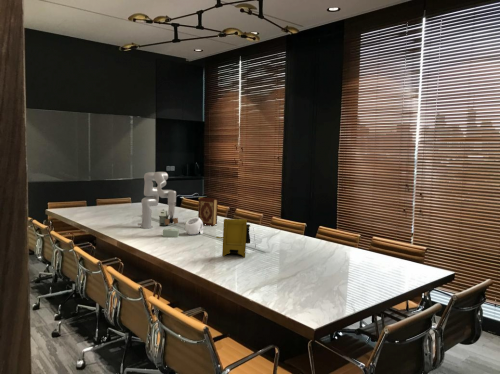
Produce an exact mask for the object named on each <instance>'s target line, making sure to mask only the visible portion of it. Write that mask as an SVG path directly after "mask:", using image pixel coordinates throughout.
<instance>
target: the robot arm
mask: <svg viewBox="0 0 500 374" xmlns="http://www.w3.org/2000/svg"><path fill="white" fill-rule="evenodd" d="M143 176H144V177H143V178H144V186H143V187H144V188H143V195H144V196H145V197H143V198H142V199H141V212H142V213H141V223H139V222H138V223H137V226H140V229H153V225H152V216H153V215H152V213H153V212H152V208H151V207H157V206H158V205H159V200H160V198H161V199H165V198H166V199H167V206H168V207H167V209H168V211H167V213H168V214H167V216H168V217H169V219H170V221H169V223H170V224H174V222H173V218H174V215H175V209H176V208H175V207H176V206H177V191H176V190H173V189H162V188H164V187H165V186H166V185H167V180H168V179H169V174H168V173H167V172H166V171H156V172H155V171H153V172H152V171H149V172H146V173H144V175H143ZM153 181H155V182H156V184H157V186H154V182H153Z"/></svg>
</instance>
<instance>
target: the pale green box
mask: <svg viewBox="0 0 500 374" xmlns="http://www.w3.org/2000/svg"><path fill="white" fill-rule="evenodd" d="M179 236H180V229H179V228H171V227H170V228H163V230H162V238H179Z"/></svg>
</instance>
